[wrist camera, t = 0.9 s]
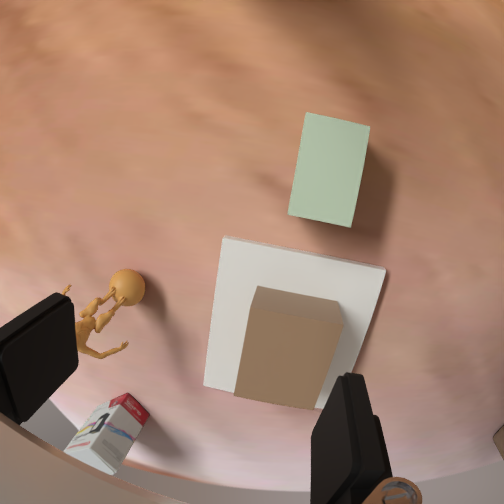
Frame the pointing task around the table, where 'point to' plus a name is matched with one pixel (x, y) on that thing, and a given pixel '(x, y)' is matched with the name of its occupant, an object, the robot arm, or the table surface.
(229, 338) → the plate
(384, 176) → the table surface
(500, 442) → the block
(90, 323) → the figurine
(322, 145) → the green brick
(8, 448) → the robot arm
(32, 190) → the table surface
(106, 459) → the ink box
